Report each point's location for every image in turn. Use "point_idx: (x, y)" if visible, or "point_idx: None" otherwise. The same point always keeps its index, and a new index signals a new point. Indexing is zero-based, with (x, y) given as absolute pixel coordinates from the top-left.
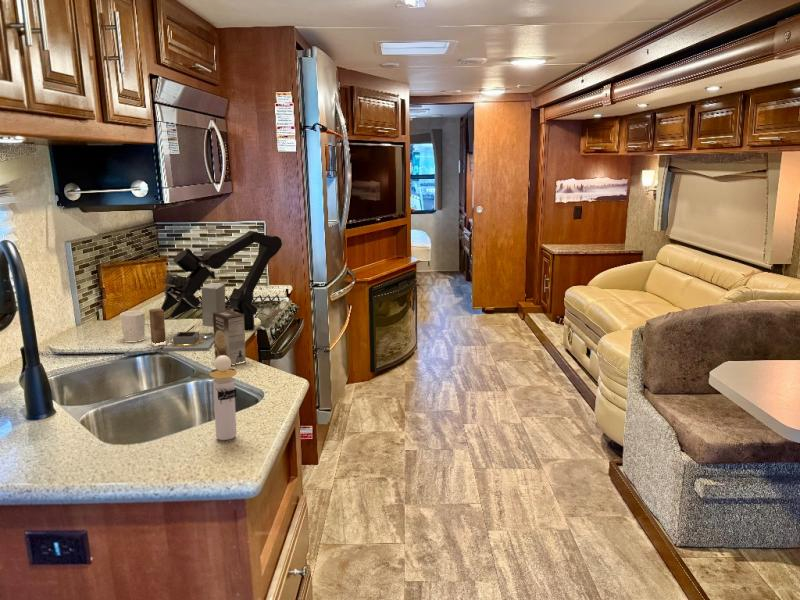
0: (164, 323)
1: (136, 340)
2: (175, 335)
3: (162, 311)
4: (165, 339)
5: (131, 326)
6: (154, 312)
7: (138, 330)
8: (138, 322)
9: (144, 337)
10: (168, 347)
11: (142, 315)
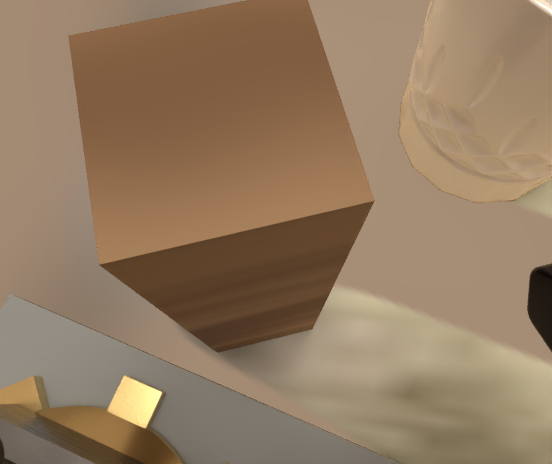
0: (175, 320)
1: (402, 130)
2: (43, 445)
3: (106, 243)
4: (209, 345)
5: (429, 7)
6: (83, 77)
7: (428, 98)
8: (456, 43)
9: (474, 194)
10: (9, 347)
11: (540, 34)
